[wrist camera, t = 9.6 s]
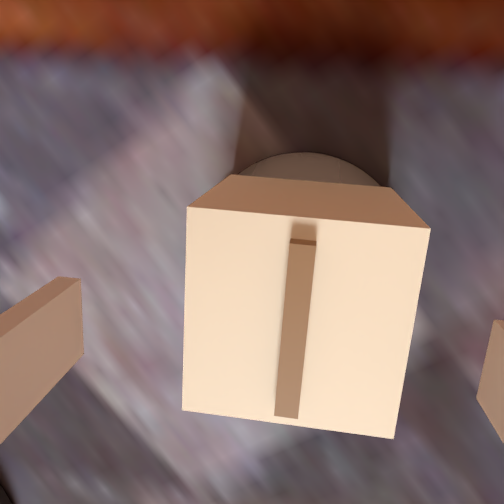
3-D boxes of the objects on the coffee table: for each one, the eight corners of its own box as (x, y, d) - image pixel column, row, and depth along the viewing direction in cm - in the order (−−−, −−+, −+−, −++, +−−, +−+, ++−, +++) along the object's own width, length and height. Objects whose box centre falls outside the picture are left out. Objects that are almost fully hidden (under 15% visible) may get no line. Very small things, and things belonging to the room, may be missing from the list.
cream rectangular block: (223, 317, 25) (177, 420, 16) (231, 174, 23) (181, 210, 14) (369, 334, 24) (396, 450, 16) (390, 187, 22) (435, 233, 14)
